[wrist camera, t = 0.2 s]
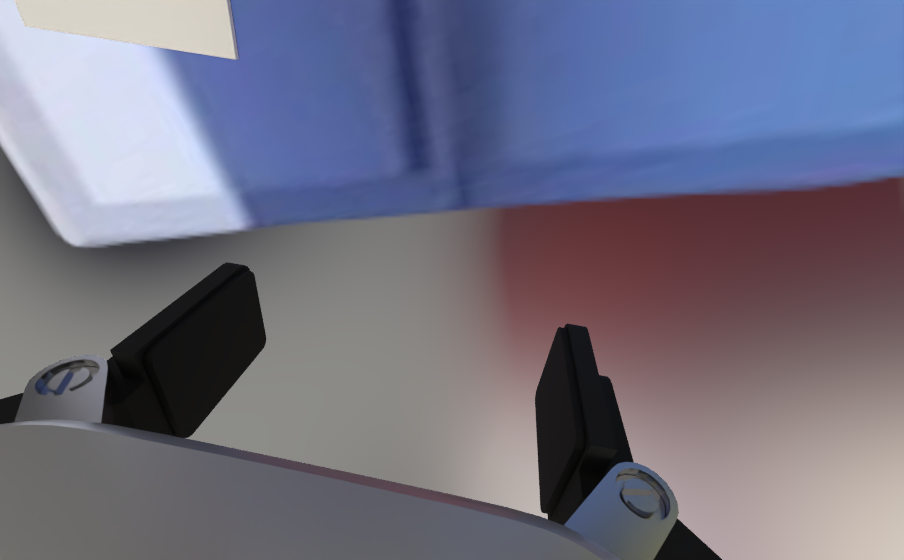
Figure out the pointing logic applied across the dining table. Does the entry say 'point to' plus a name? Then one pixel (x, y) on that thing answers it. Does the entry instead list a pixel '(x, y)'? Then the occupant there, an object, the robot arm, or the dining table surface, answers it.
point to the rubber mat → (141, 22)
